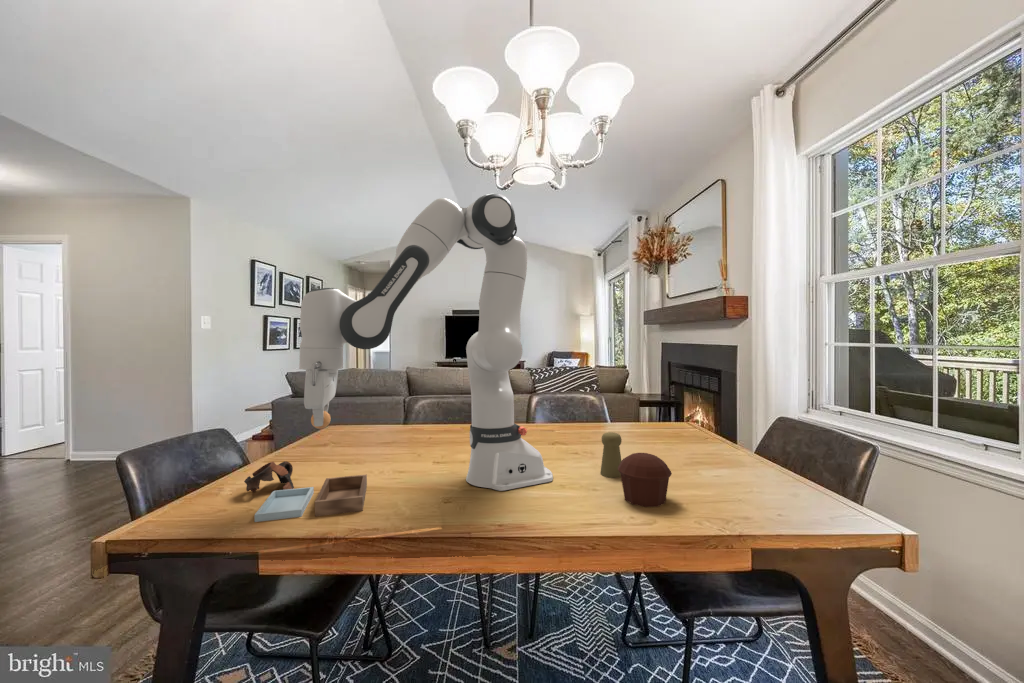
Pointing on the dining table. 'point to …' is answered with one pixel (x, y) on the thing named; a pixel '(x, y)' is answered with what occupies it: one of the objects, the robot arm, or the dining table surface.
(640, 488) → the muffin
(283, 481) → the brown curved piece
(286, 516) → the tray
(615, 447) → the cork
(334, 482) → the wooden planter box
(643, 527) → the dining table surface
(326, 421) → the ball
